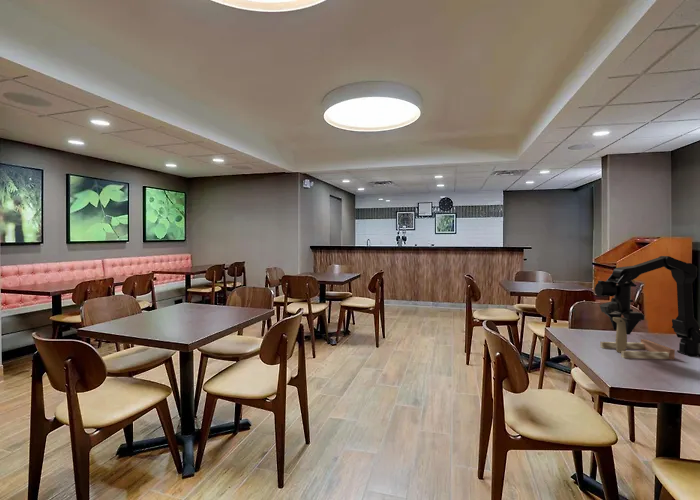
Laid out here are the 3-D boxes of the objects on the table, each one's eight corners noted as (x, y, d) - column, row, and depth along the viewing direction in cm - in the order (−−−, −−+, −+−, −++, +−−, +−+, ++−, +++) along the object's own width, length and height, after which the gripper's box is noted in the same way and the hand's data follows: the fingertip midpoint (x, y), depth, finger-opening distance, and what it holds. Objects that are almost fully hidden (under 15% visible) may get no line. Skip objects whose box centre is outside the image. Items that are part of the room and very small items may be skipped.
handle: (629, 355, 155) (630, 320, 155) (610, 352, 160) (611, 318, 160) (631, 353, 159) (631, 318, 158) (613, 349, 163) (614, 316, 163)
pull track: (645, 348, 166) (645, 339, 166) (674, 359, 150) (674, 349, 150) (600, 346, 168) (600, 338, 168) (624, 358, 152) (624, 348, 152)
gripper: (590, 293, 169) (589, 326, 169) (617, 299, 150) (616, 337, 150) (615, 293, 168) (614, 327, 168) (645, 300, 149) (644, 337, 150)
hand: (621, 332), depth 159 cm, fingers open, 8 cm apart
